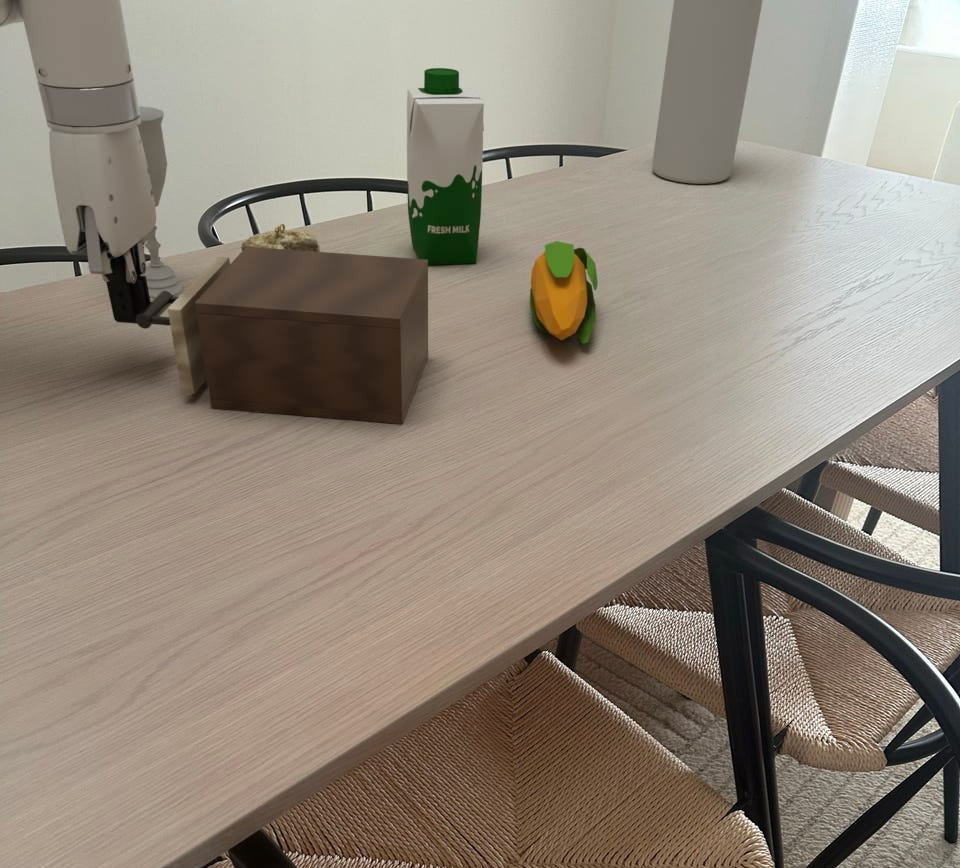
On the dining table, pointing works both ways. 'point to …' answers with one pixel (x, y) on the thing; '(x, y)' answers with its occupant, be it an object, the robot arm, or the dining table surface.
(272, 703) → the dining table surface
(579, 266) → the corn
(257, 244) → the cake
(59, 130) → the robot arm
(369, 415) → the cabinet
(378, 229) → the dining table surface
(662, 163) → the cylinder vase
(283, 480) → the dining table surface
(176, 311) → the drawer
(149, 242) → the chalice
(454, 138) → the milk carton
